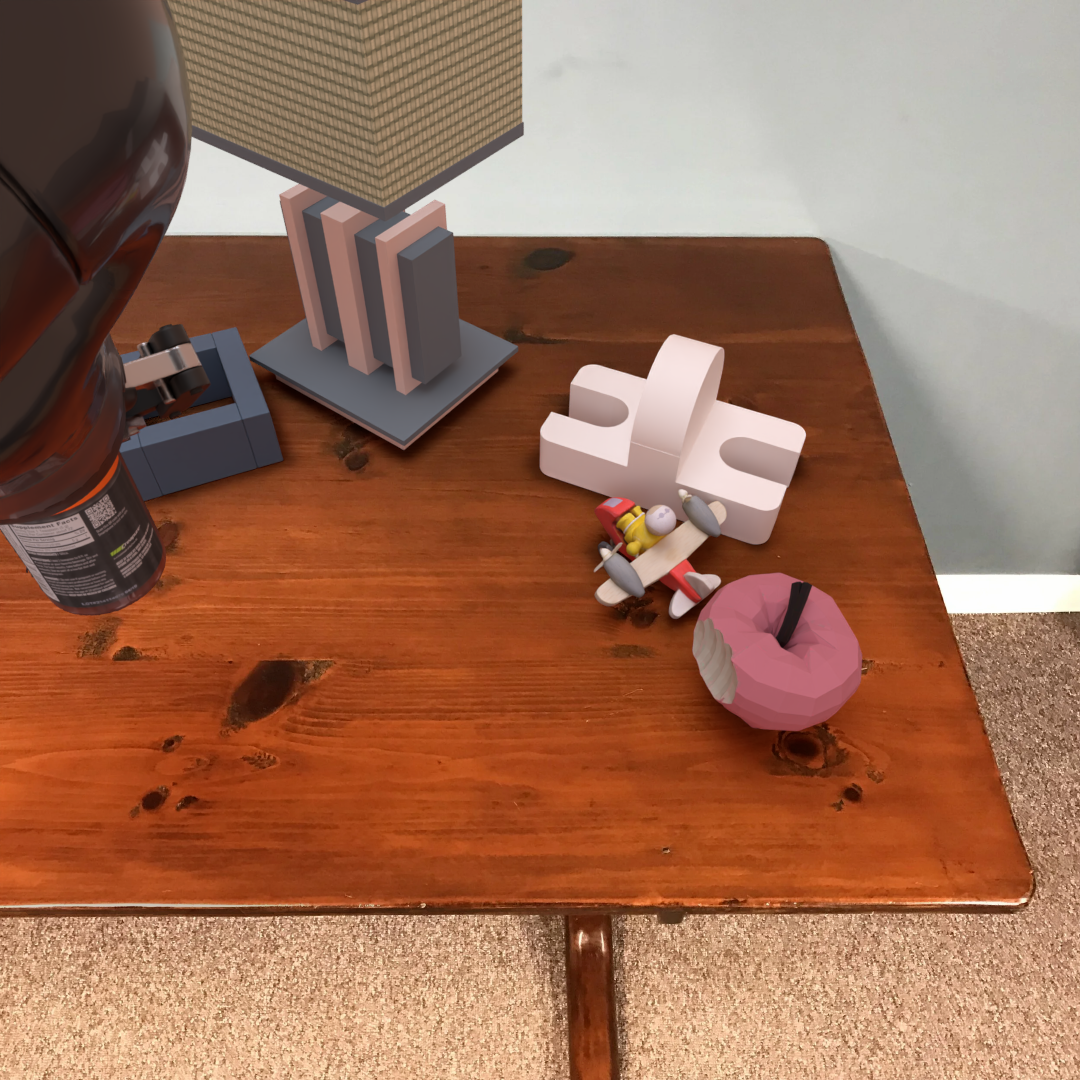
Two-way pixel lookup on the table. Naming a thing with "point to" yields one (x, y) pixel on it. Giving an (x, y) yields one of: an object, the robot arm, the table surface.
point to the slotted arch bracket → (673, 440)
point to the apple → (777, 652)
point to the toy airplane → (656, 550)
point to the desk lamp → (365, 180)
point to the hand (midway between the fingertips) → (39, 448)
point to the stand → (206, 426)
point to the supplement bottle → (94, 548)
